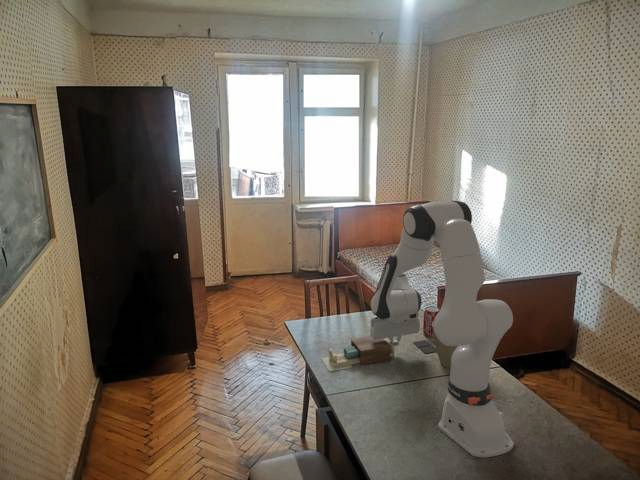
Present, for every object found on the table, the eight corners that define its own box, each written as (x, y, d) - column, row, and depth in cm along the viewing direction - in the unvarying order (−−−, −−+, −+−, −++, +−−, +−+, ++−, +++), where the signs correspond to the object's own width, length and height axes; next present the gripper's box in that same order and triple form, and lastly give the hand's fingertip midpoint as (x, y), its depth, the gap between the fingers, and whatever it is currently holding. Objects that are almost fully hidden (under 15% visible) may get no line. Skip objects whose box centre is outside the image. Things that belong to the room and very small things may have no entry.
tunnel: (389, 361, 178) (390, 346, 176) (361, 366, 174) (361, 351, 173) (378, 349, 187) (378, 334, 186) (351, 353, 184) (351, 338, 182)
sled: (394, 356, 181) (394, 346, 179) (333, 367, 173) (333, 356, 172) (387, 349, 186) (387, 339, 185) (328, 359, 179) (328, 348, 178)
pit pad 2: (438, 351, 185) (438, 350, 185) (425, 353, 183) (425, 353, 183) (432, 346, 189) (432, 345, 189) (419, 348, 187) (419, 348, 187)
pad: (352, 367, 174) (352, 367, 174) (329, 371, 171) (329, 371, 171) (343, 355, 183) (343, 354, 183) (321, 358, 180) (321, 358, 180)
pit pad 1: (431, 345, 190) (431, 344, 190) (418, 347, 188) (418, 347, 188) (425, 340, 194) (425, 339, 194) (413, 342, 193) (413, 342, 192)
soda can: (441, 338, 196) (442, 312, 193) (424, 338, 196) (425, 312, 193) (437, 331, 203) (438, 305, 200) (421, 331, 203) (422, 305, 200)
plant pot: (448, 350, 186) (450, 314, 182) (478, 366, 174) (482, 327, 170) (421, 361, 178) (423, 323, 174) (451, 378, 166) (454, 338, 162)
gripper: (374, 319, 174) (373, 353, 177) (422, 312, 179) (421, 345, 183) (367, 313, 179) (367, 345, 183) (414, 306, 185) (413, 338, 189)
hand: (394, 345), depth 183 cm, fingers closed
